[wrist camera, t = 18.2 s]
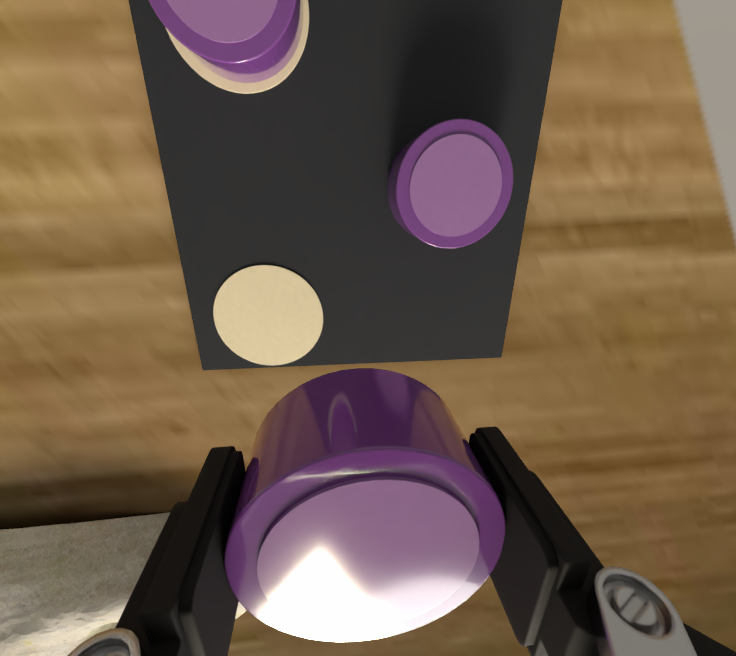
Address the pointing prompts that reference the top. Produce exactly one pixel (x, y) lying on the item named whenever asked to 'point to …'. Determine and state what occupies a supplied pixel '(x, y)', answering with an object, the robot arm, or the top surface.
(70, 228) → the top surface
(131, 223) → the top surface
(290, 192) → the mat
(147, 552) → the stone
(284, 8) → the purple short cylinder
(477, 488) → the dish
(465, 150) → the dish
